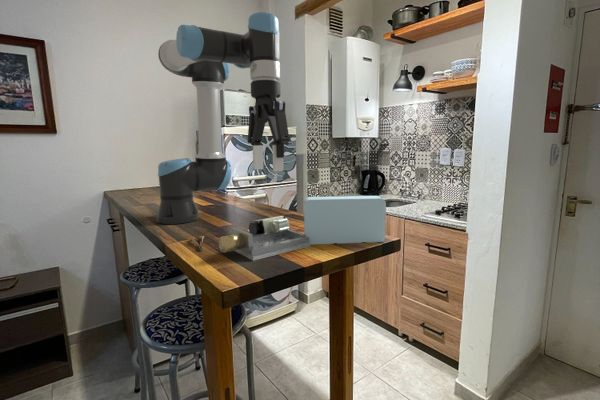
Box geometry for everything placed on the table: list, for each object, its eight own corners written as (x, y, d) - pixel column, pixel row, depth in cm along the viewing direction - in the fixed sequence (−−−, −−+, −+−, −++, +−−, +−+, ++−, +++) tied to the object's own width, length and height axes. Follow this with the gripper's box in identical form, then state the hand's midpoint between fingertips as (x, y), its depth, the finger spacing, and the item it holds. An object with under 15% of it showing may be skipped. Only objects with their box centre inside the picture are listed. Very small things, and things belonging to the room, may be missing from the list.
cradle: (234, 265, 76) (233, 240, 75) (212, 251, 87) (210, 229, 86) (310, 246, 90) (310, 225, 89) (283, 236, 100) (282, 217, 100)
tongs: (196, 254, 86) (196, 246, 86) (189, 241, 98) (189, 235, 98) (212, 251, 88) (212, 244, 88) (203, 239, 100) (203, 233, 99)
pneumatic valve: (298, 213, 98) (274, 216, 107) (265, 220, 91) (244, 222, 100) (301, 232, 98) (277, 232, 107) (269, 240, 91) (247, 240, 100)
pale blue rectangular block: (379, 237, 98) (380, 195, 96) (384, 243, 93) (386, 198, 91) (304, 239, 98) (303, 196, 96) (305, 245, 92) (304, 199, 90)
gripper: (232, 86, 89) (236, 169, 93) (277, 71, 72) (279, 173, 76) (256, 89, 94) (259, 167, 97) (303, 75, 77) (304, 171, 80)
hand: (267, 170), depth 87 cm, fingers open, 9 cm apart
